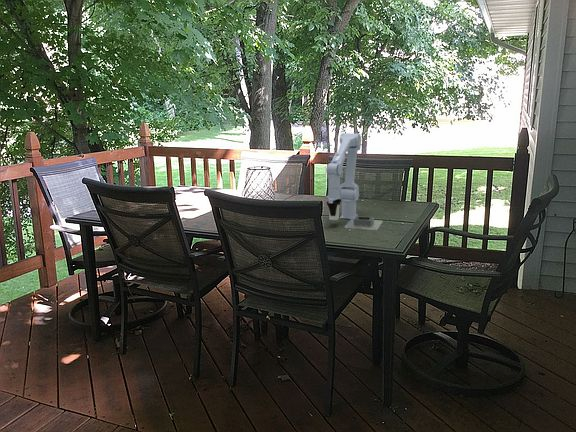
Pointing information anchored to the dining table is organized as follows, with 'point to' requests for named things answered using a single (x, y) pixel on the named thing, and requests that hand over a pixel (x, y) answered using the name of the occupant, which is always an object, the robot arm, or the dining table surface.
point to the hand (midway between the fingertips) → (334, 214)
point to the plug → (335, 215)
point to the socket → (364, 223)
